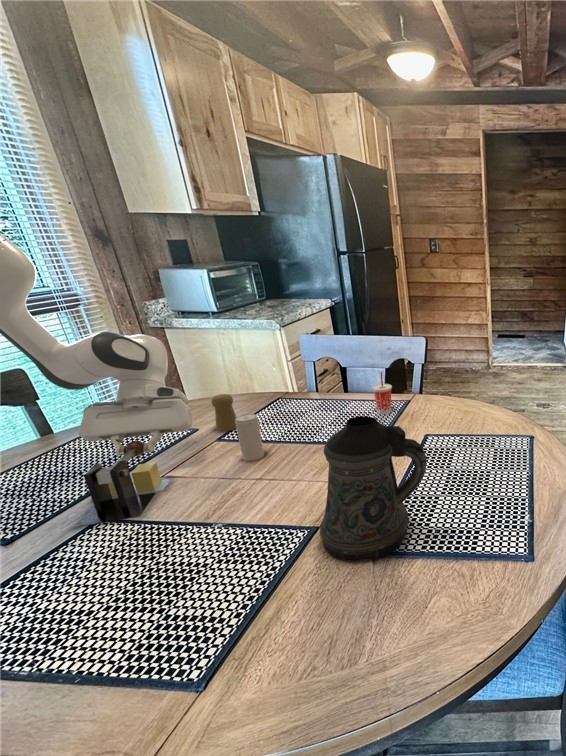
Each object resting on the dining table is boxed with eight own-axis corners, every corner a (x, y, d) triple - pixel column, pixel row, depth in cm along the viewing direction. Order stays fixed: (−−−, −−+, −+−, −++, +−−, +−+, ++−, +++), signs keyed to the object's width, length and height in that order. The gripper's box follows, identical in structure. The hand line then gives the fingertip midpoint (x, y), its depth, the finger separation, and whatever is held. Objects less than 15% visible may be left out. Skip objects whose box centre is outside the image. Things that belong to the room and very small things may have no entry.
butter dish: (95, 504, 89) (93, 500, 89) (106, 491, 93) (105, 487, 93) (164, 493, 93) (162, 490, 93) (171, 482, 98) (170, 478, 97)
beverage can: (261, 452, 112) (254, 412, 108) (267, 459, 109) (259, 417, 105) (241, 458, 109) (232, 416, 105) (246, 465, 106) (237, 422, 102)
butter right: (137, 492, 92) (130, 473, 90) (144, 483, 95) (138, 464, 94) (155, 490, 93) (149, 470, 91) (161, 480, 96) (156, 461, 95)
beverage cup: (396, 408, 143) (393, 370, 139) (389, 415, 137) (386, 375, 133) (379, 407, 144) (375, 369, 139) (371, 414, 138) (368, 374, 133)
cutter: (100, 504, 89) (84, 460, 85) (157, 495, 93) (145, 453, 89) (77, 531, 81) (59, 483, 78) (141, 520, 85) (126, 474, 81)
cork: (244, 428, 125) (237, 394, 122) (222, 435, 120) (214, 400, 117) (234, 423, 128) (227, 390, 125) (212, 430, 123) (204, 395, 120)
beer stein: (313, 527, 84) (295, 414, 76) (403, 496, 95) (397, 395, 87) (334, 579, 72) (317, 451, 64) (436, 537, 83) (432, 423, 75)
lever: (131, 453, 97) (127, 439, 96) (150, 451, 98) (146, 437, 97) (95, 488, 83) (90, 471, 82) (118, 484, 84) (113, 468, 83)
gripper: (77, 397, 94) (67, 456, 89) (186, 388, 101) (183, 442, 96) (93, 408, 99) (84, 464, 94) (195, 399, 107) (193, 450, 101)
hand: (135, 453), depth 95 cm, fingers closed on lever, 3 cm apart
